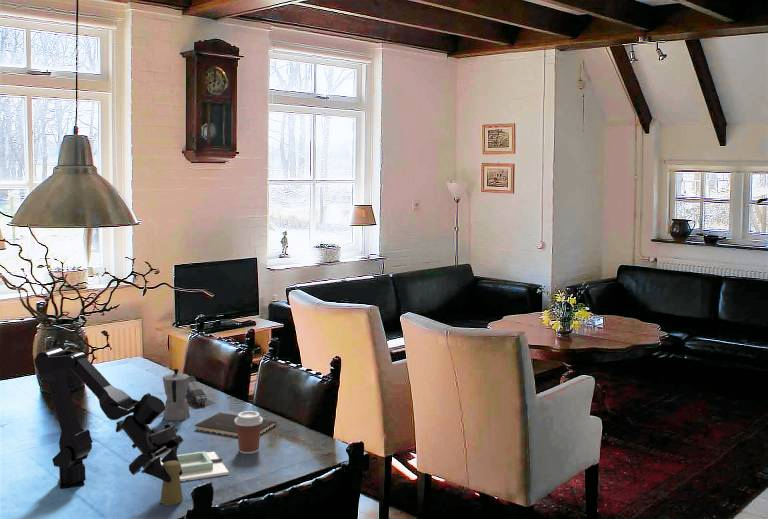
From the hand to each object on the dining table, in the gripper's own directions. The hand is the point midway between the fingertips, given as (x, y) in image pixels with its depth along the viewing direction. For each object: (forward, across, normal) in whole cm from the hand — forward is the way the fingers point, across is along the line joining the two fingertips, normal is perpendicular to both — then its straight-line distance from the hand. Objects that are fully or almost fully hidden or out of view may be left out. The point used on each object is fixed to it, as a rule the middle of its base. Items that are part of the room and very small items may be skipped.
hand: (175, 478), depth 221 cm
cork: (+4, 0, +6) cm, 7 cm away
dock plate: (-2, +22, +11) cm, 25 cm away
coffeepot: (-23, +61, +33) cm, 73 cm away
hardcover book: (-5, +60, +16) cm, 62 cm away
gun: (-28, +83, +38) cm, 95 cm away
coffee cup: (+5, +42, +5) cm, 42 cm away
